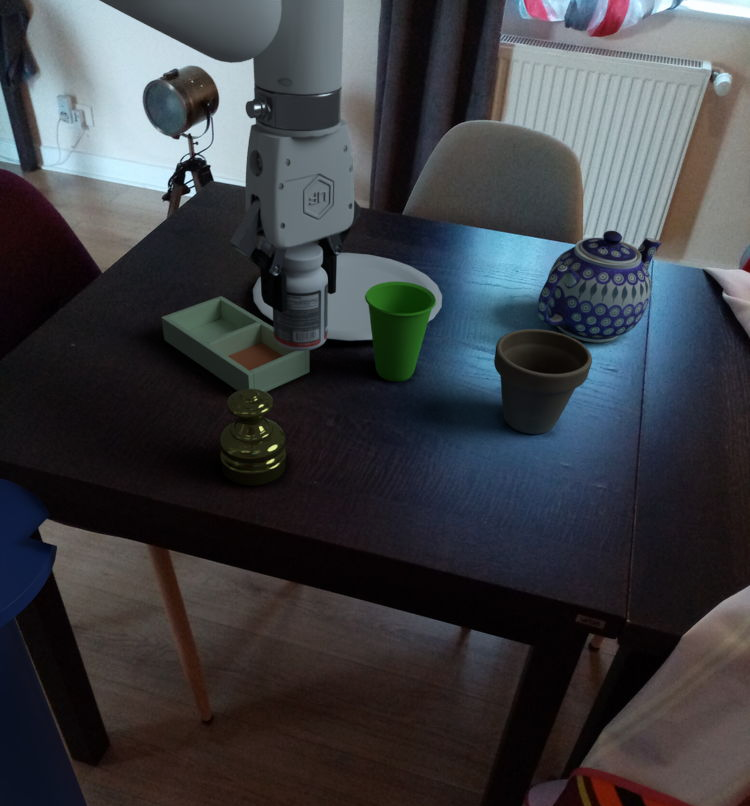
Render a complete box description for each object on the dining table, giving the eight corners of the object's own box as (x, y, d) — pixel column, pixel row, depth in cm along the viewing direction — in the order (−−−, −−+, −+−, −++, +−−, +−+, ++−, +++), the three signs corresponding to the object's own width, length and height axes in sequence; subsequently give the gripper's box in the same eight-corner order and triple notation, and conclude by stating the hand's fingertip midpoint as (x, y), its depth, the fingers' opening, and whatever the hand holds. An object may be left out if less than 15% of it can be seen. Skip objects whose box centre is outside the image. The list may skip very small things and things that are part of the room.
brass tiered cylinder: (296, 455, 91) (295, 383, 85) (270, 494, 86) (267, 419, 79) (238, 441, 93) (233, 368, 86) (209, 478, 87) (201, 404, 81)
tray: (249, 399, 100) (248, 375, 97) (164, 340, 110) (160, 316, 107) (309, 372, 105) (309, 348, 103) (223, 318, 115) (221, 295, 113)
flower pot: (510, 384, 105) (523, 317, 99) (588, 415, 101) (607, 346, 94) (467, 423, 98) (478, 353, 91) (549, 458, 93) (567, 387, 87)
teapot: (565, 371, 109) (590, 271, 99) (494, 325, 118) (510, 229, 108) (680, 327, 120) (712, 233, 111) (607, 288, 129) (630, 198, 119)
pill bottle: (291, 321, 86) (290, 233, 80) (336, 335, 84) (339, 246, 78) (263, 343, 82) (259, 252, 76) (309, 358, 80) (309, 266, 74)
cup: (348, 367, 107) (350, 293, 99) (397, 348, 111) (403, 275, 104) (391, 397, 102) (397, 321, 94) (441, 375, 106) (450, 301, 99)
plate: (387, 370, 106) (388, 359, 105) (213, 313, 116) (212, 303, 115) (470, 289, 126) (472, 280, 125) (316, 247, 136) (316, 237, 135)
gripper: (243, 134, 62) (254, 337, 74) (398, 103, 71) (385, 288, 83) (190, 111, 66) (208, 308, 78) (343, 85, 75) (338, 263, 87)
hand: (299, 296), depth 80 cm, fingers closed on pill bottle, 5 cm apart
